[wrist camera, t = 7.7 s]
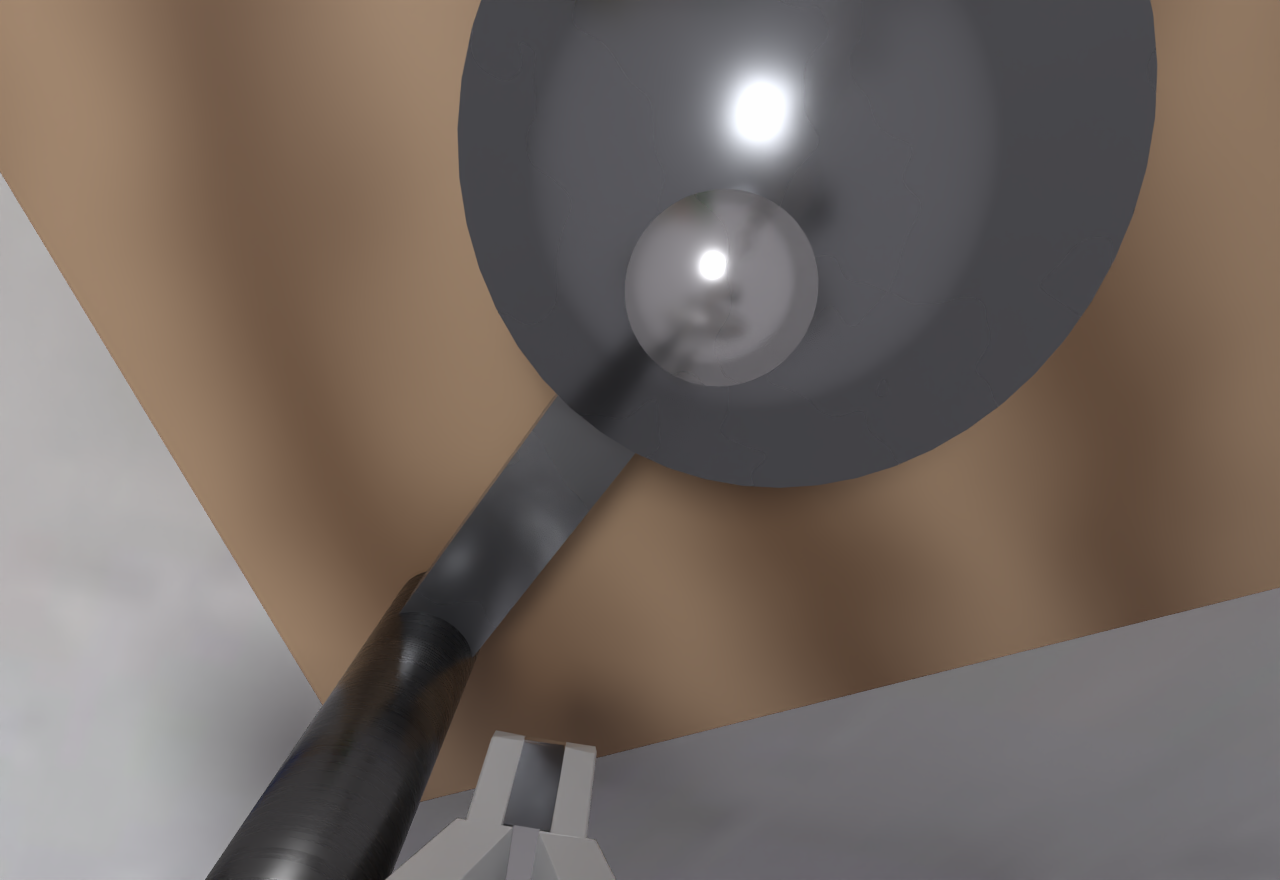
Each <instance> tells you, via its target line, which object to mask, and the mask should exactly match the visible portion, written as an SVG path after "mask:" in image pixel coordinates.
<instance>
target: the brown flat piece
mask: <svg viewBox="0 0 1280 880" xmlns="http://www.w3.org/2000/svg"><path fill="white" fill-rule="evenodd" d="M1150 1H1151V6H1152V11H1153V17H1154V30H1155V42H1156V54H1157V88H1156V110H1155V121H1154V127H1153V133H1152V139H1151V145H1150V151H1149V158H1148V164H1147V169H1146V172H1145V176H1144V179H1143V182H1142V186H1141V189H1140V193H1139V196H1138V200H1137V203H1136V207H1135V210H1134V214H1133V217H1132V219H1131V221H1130V224H1129V226H1128V229H1127V231H1126V233H1125V236H1124V238H1123V241H1122V243H1121V246H1120V248H1119V250H1118V253H1117V255H1116V258H1115V260H1114V262H1113V264H1112V265H1111V267H1110V269H1109V271H1108V273H1107V275H1106V276H1105V278H1104V280H1103V282H1102V284H1101V285H1100V287H1099V289H1098V291H1097V293H1096V295H1095V296H1094V298H1093V300H1092V302H1091V303H1090V305H1089V306H1088V308H1087V309H1086V310H1085V312H1084V313H1083V315H1082V316H1081V318H1080V319H1079V320H1078V322H1077V323H1076V325H1075V326H1074V327H1073V329H1072V330H1071V332H1070V333H1069V335H1068V336H1067V337H1066V339H1065V340H1064V341H1063V343H1062V344H1061V345H1060V346H1059V347H1058V348H1057V349H1056V351H1055V352H1054V353H1053V354H1052V355H1051V356H1050V357H1049V358H1048V360H1047V361H1046V362H1045V363H1044V364H1043V365H1042V366H1041V368H1040V369H1039V370H1038V371H1037V372H1036V373H1035V374H1034V375H1033V376H1032V377H1031V378H1030V379H1029V380H1028V381H1027V382H1026V383H1025V384H1023V385H1022V386H1021V387H1020V388H1019V389H1018V390H1017V391H1016V392H1015V393H1014V394H1013V395H1011V396H1010V397H1009V398H1008V399H1007V400H1006V401H1005V402H1004V403H1003V404H1001V405H1000V406H999V407H997V408H996V409H995V410H993V411H992V412H991V413H989V414H988V415H987V416H985V417H984V418H982V419H981V420H980V421H978V422H977V423H976V424H974V425H973V426H972V427H970V428H969V429H967V430H966V431H964V432H962V433H960V434H959V435H957V436H955V437H954V438H952V439H950V440H948V441H947V442H945V443H943V444H941V445H940V446H938V447H936V448H935V449H933V450H931V451H929V452H926V453H924V454H922V455H919V456H917V457H915V458H913V459H910V460H908V461H906V462H903V463H901V464H899V465H897V466H894V467H891V468H888V469H884V470H881V471H878V472H875V473H872V474H868V475H865V476H862V477H859V478H855V479H849V480H844V481H838V482H833V483H828V484H822V485H815V486H800V487H785V488H774V487H755V486H740V485H735V484H729V483H723V482H718V481H712V480H706V479H702V478H699V477H696V476H693V475H689V474H686V473H683V472H680V471H676V470H673V469H670V468H667V467H665V466H663V465H661V464H658V463H656V462H654V461H652V460H650V459H647V458H645V457H643V456H641V455H638V454H636V453H635V454H634V455H633V457H632V458H631V459H630V461H629V462H628V463H627V464H626V466H625V467H624V468H623V469H622V471H621V472H620V473H619V474H618V476H617V477H616V478H615V479H614V481H613V482H612V483H611V484H610V486H609V487H608V488H607V489H606V491H605V492H604V493H603V494H602V496H601V497H600V498H599V499H598V501H597V502H596V503H595V504H594V506H593V507H592V508H591V510H590V511H589V512H588V513H587V515H586V516H585V517H584V518H583V520H582V521H581V522H580V523H579V525H578V526H577V527H576V528H575V530H574V531H573V532H572V533H571V535H570V536H569V537H568V538H567V540H566V541H565V542H564V543H563V545H562V546H561V547H560V548H559V550H558V551H557V552H556V554H555V555H554V556H553V557H552V559H551V560H550V561H549V562H548V564H547V565H546V566H545V567H544V569H543V570H542V571H541V572H540V574H539V575H538V576H537V577H536V579H535V580H534V581H533V582H532V584H531V585H530V586H529V587H528V589H527V590H526V591H525V592H524V594H523V595H522V596H521V597H520V599H519V600H518V601H517V603H516V604H515V605H514V606H513V608H512V609H511V610H510V611H509V613H508V614H507V615H506V616H505V618H504V619H503V620H502V621H501V623H500V624H499V625H498V626H497V628H496V629H495V630H494V631H493V633H492V634H491V635H490V636H489V638H488V639H487V640H486V641H485V643H484V644H483V645H482V647H481V649H480V651H479V654H478V656H477V659H476V661H475V664H474V666H473V669H472V671H471V674H470V676H469V679H468V682H467V684H466V687H465V689H464V692H463V694H462V697H461V699H460V702H459V704H458V707H457V709H456V712H455V714H454V717H453V719H452V722H451V724H450V727H449V730H448V732H447V735H446V737H445V740H444V742H443V745H442V747H441V750H440V752H439V755H438V757H437V760H436V762H435V765H434V767H433V770H432V773H431V775H430V778H429V780H428V783H427V785H426V788H425V790H424V793H423V795H422V798H421V800H420V802H422V801H426V800H430V799H434V798H438V797H442V796H446V795H450V794H454V793H458V792H462V791H466V790H470V789H474V788H476V785H477V782H478V779H479V776H480V773H481V770H482V766H483V763H484V760H485V757H486V754H487V751H488V748H489V744H490V741H491V738H492V736H493V735H494V733H495V731H496V730H497V731H502V732H508V733H513V734H518V735H524V736H532V737H538V738H543V739H549V740H556V741H563V742H565V743H566V742H569V743H576V744H582V745H589V746H595V747H596V751H597V754H596V758H598V757H602V756H606V755H610V754H614V753H618V752H622V751H626V750H630V749H634V748H638V747H642V746H646V745H650V744H654V743H658V742H662V741H666V740H670V739H674V738H678V737H682V736H686V735H690V734H694V733H698V732H702V731H706V730H710V729H714V728H718V727H722V726H726V725H730V724H734V723H738V722H742V721H747V720H751V719H755V718H759V717H763V716H767V715H771V714H775V713H779V712H783V711H787V710H791V709H795V708H799V707H803V706H807V705H811V704H815V703H819V702H823V701H827V700H831V699H835V698H839V697H843V696H847V695H851V694H855V693H859V692H863V691H867V690H871V689H875V688H879V687H883V686H887V685H891V684H895V683H899V682H903V681H907V680H911V679H915V678H919V677H923V676H927V675H931V674H935V673H939V672H943V671H947V670H951V669H955V668H959V667H963V666H967V665H971V664H975V663H979V662H983V661H987V660H991V659H995V658H999V657H1003V656H1007V655H1011V654H1015V653H1019V652H1023V651H1027V650H1031V649H1035V648H1039V647H1043V646H1047V645H1051V644H1055V643H1059V642H1063V641H1067V640H1071V639H1075V638H1079V637H1083V636H1087V635H1091V634H1095V633H1099V632H1103V631H1107V630H1111V629H1115V628H1119V627H1123V626H1127V625H1131V624H1135V623H1139V622H1143V621H1147V620H1151V619H1155V618H1159V617H1163V616H1167V615H1171V614H1175V613H1179V612H1183V611H1187V610H1191V609H1195V608H1199V607H1203V606H1207V605H1211V604H1215V603H1219V602H1223V601H1227V600H1231V599H1235V598H1239V597H1243V596H1247V595H1251V594H1255V593H1259V592H1263V591H1267V590H1271V589H1275V588H1279V587H1280V0H1150ZM480 2H481V0H0V172H1V174H2V176H3V177H4V179H5V181H6V182H7V184H8V186H9V187H10V189H11V190H12V192H13V194H14V195H15V197H16V199H17V200H18V202H19V204H20V205H21V207H22V209H23V210H24V212H25V214H26V215H27V217H28V219H29V220H30V222H31V224H32V225H33V227H34V229H35V230H36V232H37V234H38V235H39V237H40V238H41V240H42V242H43V243H44V245H45V247H46V248H47V250H48V252H49V253H50V255H51V257H52V258H53V260H54V262H55V263H56V265H57V267H58V268H59V270H60V272H61V273H62V275H63V277H64V278H65V280H66V281H67V283H68V285H69V286H70V288H71V290H72V291H73V293H74V295H75V296H76V298H77V300H78V301H79V303H80V305H81V306H82V308H83V310H84V311H85V313H86V315H87V316H88V318H89V320H90V321H91V323H92V324H93V326H94V328H95V329H96V331H97V333H98V334H99V336H100V338H101V339H102V341H103V343H104V344H105V346H106V348H107V349H108V351H109V353H110V354H111V356H112V358H113V359H114V361H115V363H116V364H117V366H118V368H119V369H120V371H121V372H122V374H123V376H124V377H125V379H126V381H127V382H128V384H129V386H130V387H131V389H132V391H133V392H134V394H135V396H136V397H137V399H138V401H139V402H140V404H141V406H142V407H143V409H144V411H145V412H146V414H147V415H148V417H149V419H150V420H151V422H152V424H153V425H154V427H155V429H156V430H157V432H158V434H159V435H160V437H161V439H162V440H163V442H164V444H165V445H166V447H167V449H168V450H169V452H170V454H171V455H172V457H173V458H174V460H175V462H176V463H177V465H178V467H179V468H180V470H181V472H182V473H183V475H184V477H185V478H186V480H187V482H188V483H189V485H190V487H191V488H192V490H193V492H194V493H195V495H196V497H197V498H198V500H199V502H200V503H201V505H202V506H203V508H204V510H205V511H206V513H207V515H208V516H209V518H210V520H211V521H212V523H213V525H214V526H215V528H216V530H217V531H218V533H219V535H220V536H221V538H222V540H223V541H224V543H225V545H226V546H227V548H228V549H229V551H230V553H231V554H232V556H233V558H234V559H235V561H236V563H237V564H238V566H239V568H240V569H241V571H242V573H243V574H244V576H245V578H246V579H247V581H248V583H249V584H250V586H251V588H252V589H253V591H254V592H255V594H256V596H257V597H258V599H259V601H260V602H261V604H262V606H263V607H264V609H265V611H266V612H267V614H268V616H269V617H270V619H271V621H272V622H273V624H274V626H275V627H276V629H277V631H278V632H279V634H280V636H281V637H282V639H283V640H284V642H285V644H286V645H287V647H288V649H289V650H290V652H291V654H292V655H293V657H294V659H295V660H296V662H297V664H298V665H299V667H300V669H301V670H302V672H303V674H304V675H305V677H306V679H307V680H308V682H309V683H310V685H311V687H312V688H313V690H314V692H315V693H316V695H317V697H318V698H319V700H320V702H321V703H322V705H323V704H324V703H325V701H326V700H327V698H328V697H329V695H330V694H331V692H332V691H333V690H334V688H335V687H336V685H337V684H338V682H339V681H340V679H341V678H342V676H343V675H344V673H345V672H346V670H347V669H348V667H349V666H350V664H351V663H352V661H353V660H354V658H355V657H356V655H357V654H358V652H359V651H360V650H361V648H362V647H363V645H364V644H365V642H366V641H367V639H368V638H369V636H370V635H371V633H372V632H373V630H374V629H375V627H376V626H377V624H378V623H379V621H380V620H381V618H382V617H383V615H384V614H385V612H386V611H387V610H388V608H389V607H390V605H391V604H392V602H393V601H394V599H395V598H396V596H397V595H398V593H399V592H400V590H401V589H402V587H403V586H404V585H405V584H406V582H408V581H409V580H410V579H411V578H413V577H414V576H416V575H418V574H420V573H423V572H426V571H427V570H428V569H429V567H430V566H431V565H432V563H433V562H434V561H435V559H436V558H437V556H438V555H439V554H440V552H441V551H442V550H443V548H444V547H445V545H446V544H447V543H448V541H449V540H450V539H451V537H452V536H453V534H454V533H455V532H456V530H457V529H458V528H459V526H460V525H461V523H462V522H463V521H464V519H465V518H466V516H467V515H468V514H469V512H470V511H471V510H472V508H473V507H474V505H475V504H476V503H477V501H478V500H479V499H480V497H481V496H482V494H483V493H484V492H485V490H486V489H487V488H488V486H489V485H490V483H491V482H492V481H493V479H494V478H495V477H496V475H497V474H498V472H499V471H500V470H501V468H502V467H503V466H504V464H505V463H506V461H507V460H508V459H509V457H510V456H511V455H512V453H513V452H514V450H515V449H516V448H517V446H518V445H519V444H520V442H521V441H522V439H523V438H524V437H525V435H526V434H527V432H528V431H529V430H530V428H531V427H532V426H533V424H534V423H535V421H536V420H537V419H538V417H539V416H540V415H541V413H542V412H543V410H544V409H545V408H546V406H547V405H548V404H549V402H550V401H551V399H552V398H553V397H554V395H555V394H556V393H555V391H554V390H553V389H552V388H551V387H550V386H549V385H548V384H547V383H546V382H545V381H544V380H543V379H542V378H541V377H540V375H539V374H538V373H537V371H536V370H535V369H534V367H533V366H532V365H531V363H530V362H529V361H528V359H527V358H526V357H525V355H524V354H523V353H522V351H521V350H520V349H519V347H518V346H517V344H516V343H515V341H514V339H513V337H512V336H511V334H510V332H509V330H508V329H507V327H506V325H505V323H504V322H503V320H502V318H501V316H500V315H499V313H498V311H497V309H496V307H495V305H494V303H493V300H492V298H491V295H490V293H489V291H488V288H487V286H486V284H485V281H484V279H483V276H482V274H481V272H480V269H479V266H478V263H477V259H476V256H475V252H474V249H473V245H472V242H471V238H470V235H469V231H468V228H467V224H466V217H465V211H464V205H463V199H462V192H461V186H460V180H459V159H458V132H457V127H458V115H459V103H460V91H461V79H462V74H463V69H464V64H465V59H466V54H467V49H468V44H469V39H470V35H471V30H472V26H473V23H474V20H475V17H476V14H477V11H478V8H479V5H480Z"/></svg>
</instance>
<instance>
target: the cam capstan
mask: <svg viewBox="0 0 1280 880" xmlns="http://www.w3.org/2000/svg"><path fill="white" fill-rule="evenodd" d="M1156 88H1157V54H1156V42H1155V30H1154V17H1153V11H1152V6H1151V1H1150V0H481V2H480V5H479V8H478V11H477V14H476V17H475V20H474V23H473V26H472V30H471V35H470V39H469V44H468V49H467V54H466V59H465V64H464V69H463V74H462V79H461V91H460V103H459V115H458V127H457V132H458V159H459V180H460V186H461V192H462V199H463V205H464V211H465V217H466V224H467V228H468V231H469V235H470V238H471V242H472V245H473V249H474V252H475V256H476V259H477V263H478V266H479V269H480V272H481V274H482V276H483V279H484V281H485V284H486V286H487V288H488V291H489V293H490V295H491V298H492V300H493V303H494V305H495V307H496V309H497V311H498V313H499V315H500V316H501V318H502V320H503V322H504V323H505V325H506V327H507V329H508V330H509V332H510V334H511V336H512V337H513V339H514V341H515V343H516V344H517V346H518V347H519V349H520V350H521V351H522V353H523V354H524V355H525V357H526V358H527V359H528V361H529V362H530V363H531V365H532V366H533V367H534V369H535V370H536V371H537V373H538V374H539V375H540V377H541V378H542V379H543V380H544V381H545V382H546V383H547V384H548V385H549V386H550V387H551V388H552V389H553V390H554V391H555V393H556V394H555V395H554V397H553V398H552V399H551V401H550V402H549V404H548V405H547V406H546V408H545V409H544V410H543V412H542V413H541V415H540V416H539V417H538V419H537V420H536V421H535V423H534V424H533V426H532V427H531V428H530V430H529V431H528V432H527V434H526V435H525V437H524V438H523V439H522V441H521V442H520V444H519V445H518V446H517V448H516V449H515V450H514V452H513V453H512V455H511V456H510V457H509V459H508V460H507V461H506V463H505V464H504V466H503V467H502V468H501V470H500V471H499V472H498V474H497V475H496V477H495V478H494V479H493V481H492V482H491V483H490V485H489V486H488V488H487V489H486V490H485V492H484V493H483V494H482V496H481V497H480V499H479V500H478V501H477V503H476V504H475V505H474V507H473V508H472V510H471V511H470V512H469V514H468V515H467V516H466V518H465V519H464V521H463V522H462V523H461V525H460V526H459V528H458V529H457V530H456V532H455V533H454V534H453V536H452V537H451V539H450V540H449V541H448V543H447V544H446V545H445V547H444V548H443V550H442V551H441V552H440V554H439V555H438V556H437V558H436V559H435V561H434V562H433V563H432V565H431V566H430V567H429V569H428V570H427V571H426V572H423V573H420V574H418V575H416V576H414V577H413V578H411V579H410V580H409V581H408V582H406V584H405V585H404V586H403V587H402V589H401V590H400V592H399V593H398V595H397V596H396V598H395V599H394V601H393V602H392V604H391V605H390V607H389V608H388V610H387V611H386V612H385V614H384V615H383V617H382V618H381V620H380V621H379V623H378V624H377V626H376V627H375V629H374V630H373V632H372V633H371V635H370V636H369V638H368V639H367V641H366V642H365V644H364V645H363V647H362V648H361V650H360V651H359V652H358V654H357V655H356V657H355V658H354V660H353V661H352V663H351V664H350V666H349V667H348V669H347V670H346V672H345V673H344V675H343V676H342V678H341V679H340V681H339V682H338V684H337V685H336V687H335V688H334V690H333V691H332V692H331V694H330V695H329V697H328V698H327V700H326V701H325V703H324V704H323V706H322V707H321V709H320V710H319V712H318V713H317V715H316V716H315V718H314V719H313V721H312V722H311V724H310V725H309V727H308V728H307V730H306V731H305V732H304V734H303V735H302V737H301V738H300V740H299V741H298V743H297V744H296V746H295V747H294V749H293V750H292V752H291V753H290V755H289V756H288V758H287V759H286V761H285V762H284V764H283V765H282V767H281V768H280V770H279V771H278V772H277V774H276V775H275V777H274V778H273V780H272V781H271V783H270V784H269V786H268V787H267V789H266V790H265V792H264V793H263V795H262V796H261V798H260V799H259V801H258V802H257V804H256V805H255V807H254V808H253V810H252V811H251V812H250V814H249V815H248V817H247V818H246V820H245V821H244V823H243V824H242V826H241V827H240V829H239V830H238V832H237V833H236V835H235V836H234V838H233V839H232V841H231V842H230V844H229V845H228V847H227V848H226V850H225V851H224V853H223V854H222V855H221V857H220V858H219V860H218V861H217V863H216V864H215V866H214V867H213V869H212V870H211V872H210V873H209V875H208V876H207V878H206V879H205V880H385V879H386V878H388V877H389V876H390V875H391V874H392V871H393V869H394V866H395V863H396V861H397V858H398V856H399V853H400V851H401V848H402V846H403V843H404V841H405V838H406V836H407V833H408V831H409V828H410V826H411V823H412V821H413V818H414V815H415V813H416V810H417V808H418V805H419V803H420V800H421V798H422V795H423V793H424V790H425V788H426V785H427V783H428V780H429V778H430V775H431V773H432V770H433V767H434V765H435V762H436V760H437V757H438V755H439V752H440V750H441V747H442V745H443V742H444V740H445V737H446V735H447V732H448V730H449V727H450V724H451V722H452V719H453V717H454V714H455V712H456V709H457V707H458V704H459V702H460V699H461V697H462V694H463V692H464V689H465V687H466V684H467V682H468V679H469V676H470V674H471V671H472V669H473V666H474V664H475V661H476V659H477V656H478V654H479V651H480V649H481V647H482V645H483V644H484V643H485V641H486V640H487V639H488V638H489V636H490V635H491V634H492V633H493V631H494V630H495V629H496V628H497V626H498V625H499V624H500V623H501V621H502V620H503V619H504V618H505V616H506V615H507V614H508V613H509V611H510V610H511V609H512V608H513V606H514V605H515V604H516V603H517V601H518V600H519V599H520V597H521V596H522V595H523V594H524V592H525V591H526V590H527V589H528V587H529V586H530V585H531V584H532V582H533V581H534V580H535V579H536V577H537V576H538V575H539V574H540V572H541V571H542V570H543V569H544V567H545V566H546V565H547V564H548V562H549V561H550V560H551V559H552V557H553V556H554V555H555V554H556V552H557V551H558V550H559V548H560V547H561V546H562V545H563V543H564V542H565V541H566V540H567V538H568V537H569V536H570V535H571V533H572V532H573V531H574V530H575V528H576V527H577V526H578V525H579V523H580V522H581V521H582V520H583V518H584V517H585V516H586V515H587V513H588V512H589V511H590V510H591V508H592V507H593V506H594V504H595V503H596V502H597V501H598V499H599V498H600V497H601V496H602V494H603V493H604V492H605V491H606V489H607V488H608V487H609V486H610V484H611V483H612V482H613V481H614V479H615V478H616V477H617V476H618V474H619V473H620V472H621V471H622V469H623V468H624V467H625V466H626V464H627V463H628V462H629V461H630V459H631V458H632V457H633V455H634V454H635V453H636V454H638V455H641V456H643V457H645V458H647V459H650V460H652V461H654V462H656V463H658V464H661V465H663V466H665V467H667V468H670V469H673V470H676V471H680V472H683V473H686V474H689V475H693V476H696V477H699V478H702V479H706V480H712V481H718V482H723V483H729V484H735V485H740V486H755V487H774V488H785V487H800V486H815V485H822V484H828V483H833V482H838V481H844V480H849V479H855V478H859V477H862V476H865V475H868V474H872V473H875V472H878V471H881V470H884V469H888V468H891V467H894V466H897V465H899V464H901V463H903V462H906V461H908V460H910V459H913V458H915V457H917V456H919V455H922V454H924V453H926V452H929V451H931V450H933V449H935V448H936V447H938V446H940V445H941V444H943V443H945V442H947V441H948V440H950V439H952V438H954V437H955V436H957V435H959V434H960V433H962V432H964V431H966V430H967V429H969V428H970V427H972V426H973V425H974V424H976V423H977V422H978V421H980V420H981V419H982V418H984V417H985V416H987V415H988V414H989V413H991V412H992V411H993V410H995V409H996V408H997V407H999V406H1000V405H1001V404H1003V403H1004V402H1005V401H1006V400H1007V399H1008V398H1009V397H1010V396H1011V395H1013V394H1014V393H1015V392H1016V391H1017V390H1018V389H1019V388H1020V387H1021V386H1022V385H1023V384H1025V383H1026V382H1027V381H1028V380H1029V379H1030V378H1031V377H1032V376H1033V375H1034V374H1035V373H1036V372H1037V371H1038V370H1039V369H1040V368H1041V366H1042V365H1043V364H1044V363H1045V362H1046V361H1047V360H1048V358H1049V357H1050V356H1051V355H1052V354H1053V353H1054V352H1055V351H1056V349H1057V348H1058V347H1059V346H1060V345H1061V344H1062V343H1063V341H1064V340H1065V339H1066V337H1067V336H1068V335H1069V333H1070V332H1071V330H1072V329H1073V327H1074V326H1075V325H1076V323H1077V322H1078V320H1079V319H1080V318H1081V316H1082V315H1083V313H1084V312H1085V310H1086V309H1087V308H1088V306H1089V305H1090V303H1091V302H1092V300H1093V298H1094V296H1095V295H1096V293H1097V291H1098V289H1099V287H1100V285H1101V284H1102V282H1103V280H1104V278H1105V276H1106V275H1107V273H1108V271H1109V269H1110V267H1111V265H1112V264H1113V262H1114V260H1115V258H1116V255H1117V253H1118V250H1119V248H1120V246H1121V243H1122V241H1123V238H1124V236H1125V233H1126V231H1127V229H1128V226H1129V224H1130V221H1131V219H1132V217H1133V214H1134V210H1135V207H1136V203H1137V200H1138V196H1139V193H1140V189H1141V186H1142V182H1143V179H1144V176H1145V172H1146V169H1147V164H1148V158H1149V151H1150V145H1151V139H1152V133H1153V127H1154V121H1155V110H1156Z"/></svg>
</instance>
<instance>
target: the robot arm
mask: <svg viewBox="0 0 1280 880" xmlns="http://www.w3.org/2000/svg"><path fill="white" fill-rule="evenodd" d="M596 754H597V751H596V747H595V746H589V745H582V744H576V743H569V742H566V743H565V742H563V741H556V740H549V739H543V738H538V737H532V736H524V735H518V734H513V733H508V732H502V731H497V730H496V731H495V733H494V735H493V736H492V738H491V741H490V744H489V748H488V751H487V754H486V757H485V760H484V763H483V766H482V770H481V773H480V776H479V779H478V782H477V785H476V788H475V792H474V795H473V798H472V801H471V804H470V807H469V810H468V814H467V817H466V819H458V818H456V819H455V820H454V821H452V822H451V823H450V824H449V825H448V826H447V827H445V828H444V829H443V830H442V831H441V832H440V833H438V834H437V835H436V836H435V837H434V838H433V839H432V840H430V841H429V842H428V843H427V844H426V845H425V846H423V847H422V848H421V849H420V850H419V851H418V852H417V853H415V854H414V855H413V856H412V857H411V858H410V859H408V860H407V861H406V862H405V863H404V864H403V865H401V866H400V867H399V868H398V869H397V870H396V871H395V872H393V873H392V874H391V875H390V876H389V877H388V878H386V879H385V880H616V879H615V877H614V875H613V873H612V871H611V869H610V867H609V865H608V863H607V861H606V859H605V857H604V855H603V853H602V851H601V849H600V847H599V845H598V843H597V841H596V840H593V839H588V838H587V832H588V823H589V815H590V806H591V797H592V789H593V780H594V771H595V762H596Z"/></svg>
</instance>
